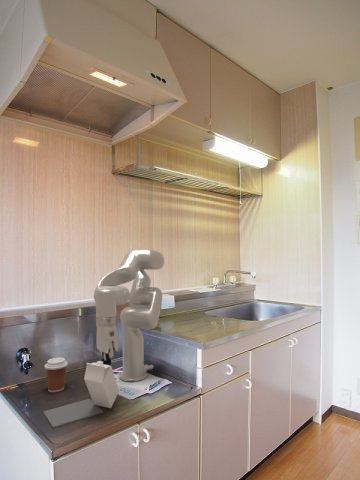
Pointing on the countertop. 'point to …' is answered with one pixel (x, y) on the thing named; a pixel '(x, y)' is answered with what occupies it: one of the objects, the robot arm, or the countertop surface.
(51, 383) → the coffee cup
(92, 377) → the milk carton
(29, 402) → the countertop surface
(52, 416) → the mat
